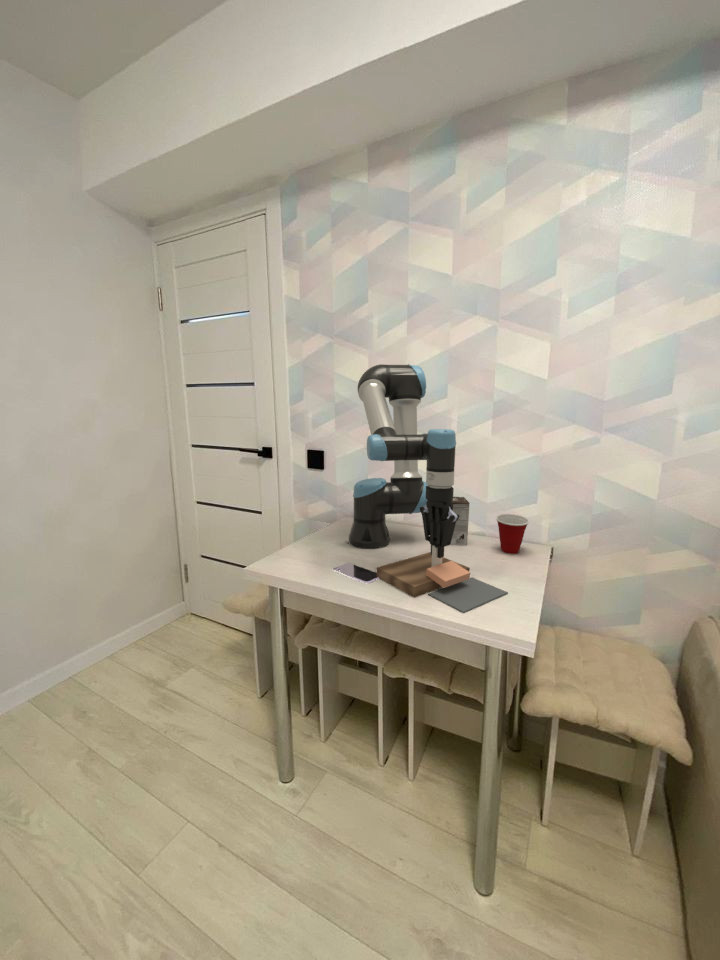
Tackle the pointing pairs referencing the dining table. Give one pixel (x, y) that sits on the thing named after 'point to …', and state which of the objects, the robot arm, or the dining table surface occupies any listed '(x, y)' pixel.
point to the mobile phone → (357, 572)
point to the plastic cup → (511, 531)
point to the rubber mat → (467, 594)
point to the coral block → (447, 574)
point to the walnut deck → (412, 574)
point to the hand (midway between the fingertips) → (436, 567)
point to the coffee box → (460, 521)
